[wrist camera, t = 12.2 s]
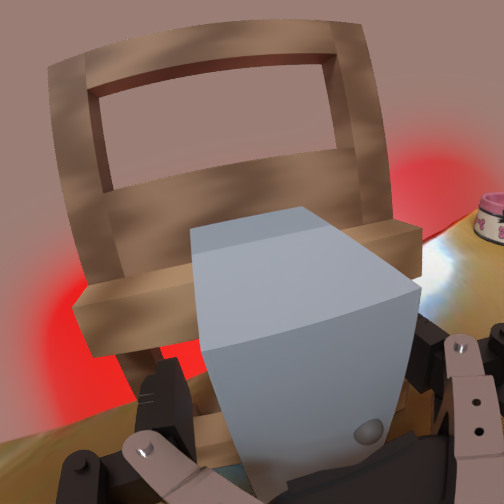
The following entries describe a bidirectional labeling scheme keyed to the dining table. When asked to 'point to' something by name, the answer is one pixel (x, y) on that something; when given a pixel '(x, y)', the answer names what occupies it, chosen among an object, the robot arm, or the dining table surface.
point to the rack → (211, 186)
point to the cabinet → (300, 342)
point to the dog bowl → (491, 218)
